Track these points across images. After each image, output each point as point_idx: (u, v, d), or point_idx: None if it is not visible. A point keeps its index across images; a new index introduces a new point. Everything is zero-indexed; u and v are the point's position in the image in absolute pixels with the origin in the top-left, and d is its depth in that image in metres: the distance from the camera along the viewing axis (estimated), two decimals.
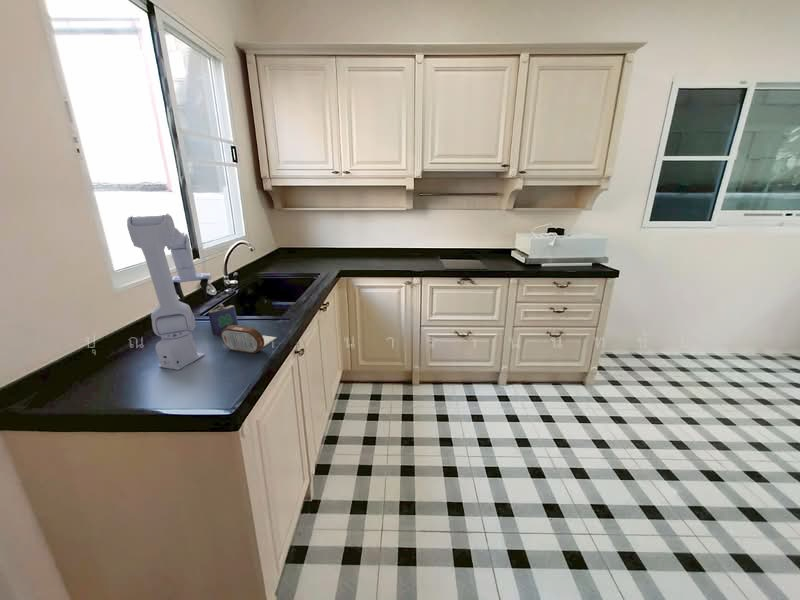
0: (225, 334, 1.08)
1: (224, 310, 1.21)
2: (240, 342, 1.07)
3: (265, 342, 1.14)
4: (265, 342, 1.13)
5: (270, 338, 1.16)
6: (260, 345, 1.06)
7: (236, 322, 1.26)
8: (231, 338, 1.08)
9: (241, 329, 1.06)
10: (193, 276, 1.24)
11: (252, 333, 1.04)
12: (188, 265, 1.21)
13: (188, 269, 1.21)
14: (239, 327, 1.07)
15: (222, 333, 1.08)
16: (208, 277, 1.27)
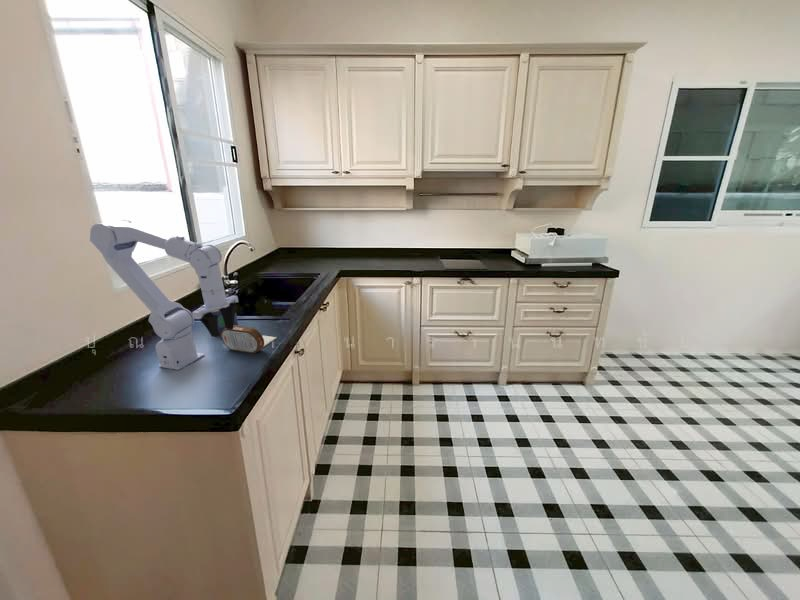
0: (225, 334, 1.08)
1: None
2: (240, 342, 1.07)
3: (265, 342, 1.14)
4: (265, 342, 1.13)
5: (270, 338, 1.16)
6: (260, 345, 1.06)
7: (236, 322, 1.26)
8: (231, 338, 1.08)
9: (241, 329, 1.06)
10: (204, 303, 0.96)
11: (252, 333, 1.04)
12: None
13: None
14: (239, 327, 1.07)
15: (222, 333, 1.08)
16: None
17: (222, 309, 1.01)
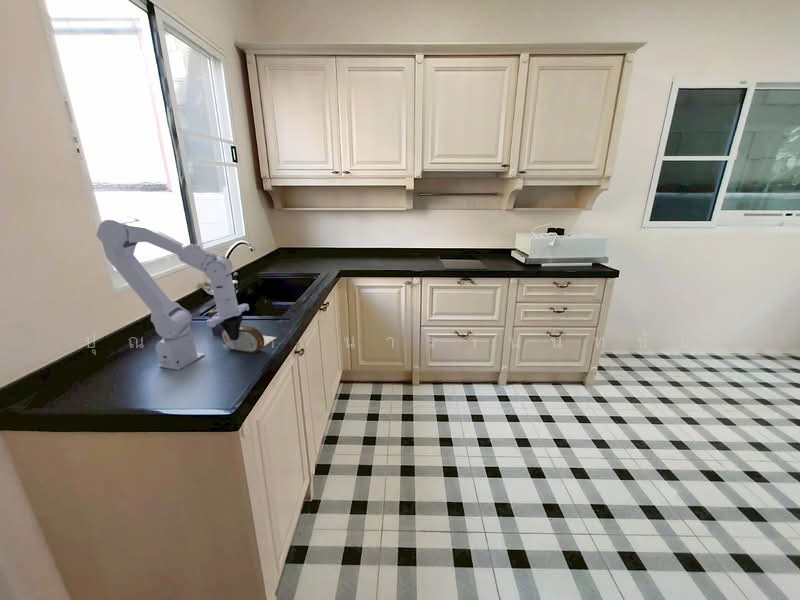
0: (225, 333, 1.08)
1: None
2: (240, 341, 1.07)
3: (265, 342, 1.14)
4: (265, 342, 1.13)
5: (270, 338, 1.16)
6: (260, 345, 1.06)
7: None
8: None
9: (241, 328, 1.06)
10: None
11: (252, 332, 1.05)
12: None
13: None
14: (240, 326, 1.07)
15: (222, 332, 1.08)
16: None
17: None
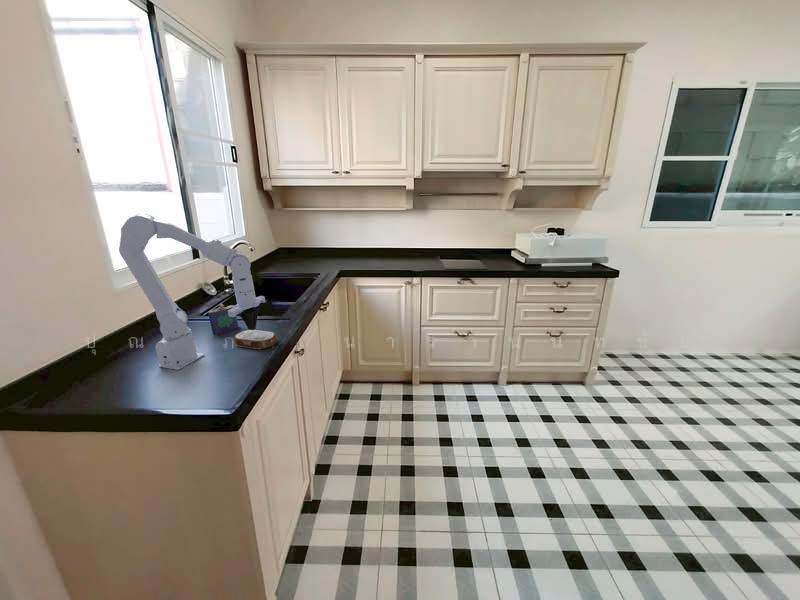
0: (246, 331, 1.17)
1: (224, 310, 1.21)
2: (254, 335, 1.13)
3: None
4: None
5: None
6: (270, 341, 1.11)
7: (236, 322, 1.26)
8: (248, 334, 1.15)
9: None
10: (237, 303, 1.07)
11: (275, 334, 1.15)
12: (236, 290, 1.05)
13: None
14: None
15: (244, 330, 1.17)
16: None
17: None
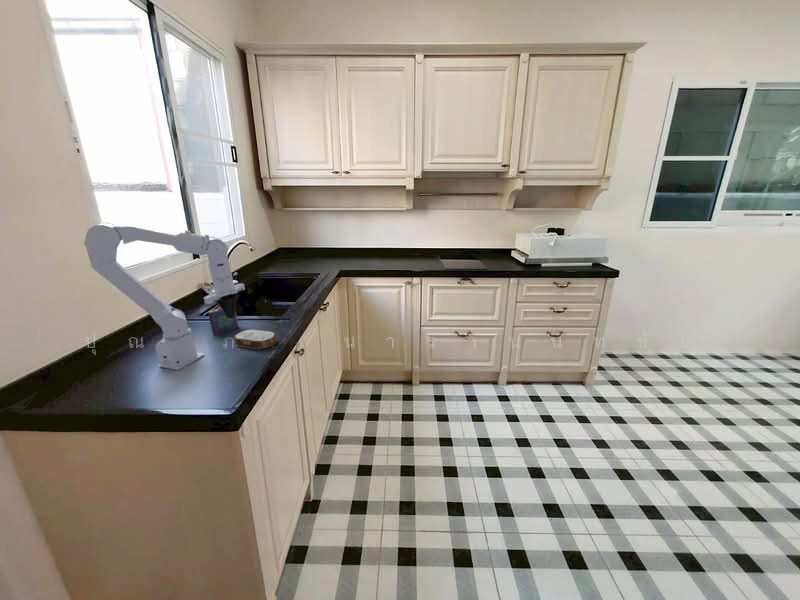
0: (246, 331, 1.17)
1: None
2: (254, 335, 1.13)
3: None
4: None
5: None
6: (270, 341, 1.11)
7: (236, 322, 1.26)
8: (248, 334, 1.15)
9: None
10: None
11: (275, 334, 1.15)
12: (213, 277, 1.02)
13: None
14: None
15: (244, 330, 1.17)
16: None
17: None
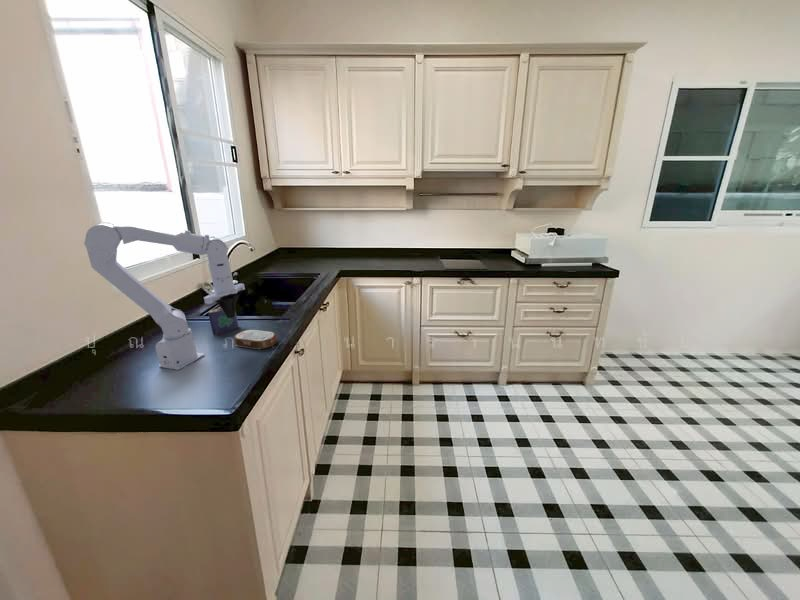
0: (246, 331, 1.17)
1: None
2: (254, 335, 1.13)
3: None
4: None
5: None
6: (270, 341, 1.11)
7: (236, 322, 1.26)
8: (248, 334, 1.15)
9: None
10: None
11: (275, 334, 1.15)
12: (213, 277, 1.02)
13: None
14: None
15: (244, 330, 1.17)
16: None
17: None
